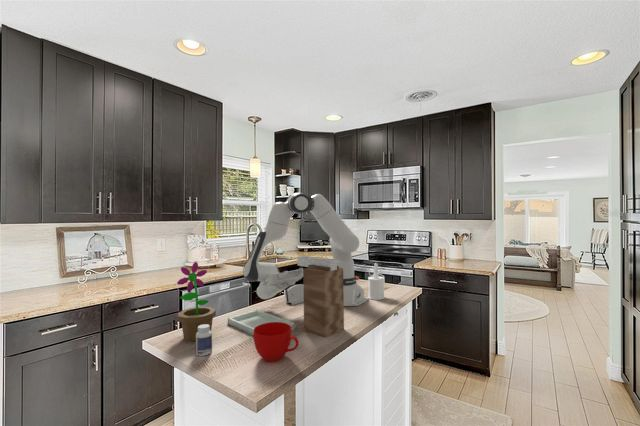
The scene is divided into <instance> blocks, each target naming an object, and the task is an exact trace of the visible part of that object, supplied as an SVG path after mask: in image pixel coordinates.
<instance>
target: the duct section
mask: <svg viewBox="0 0 640 426" xmlns="http://www.w3.org/2000/svg"><path fill="white" fill-rule="evenodd" d="M296 261H297V266H299V267H305V268H308V265H313V266H320V267H326V268H330V271H332V270H337V260H334V259H333V258H326V257H318V256H317V257H316V256H310V255H300V256H297V259H296Z"/></svg>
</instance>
